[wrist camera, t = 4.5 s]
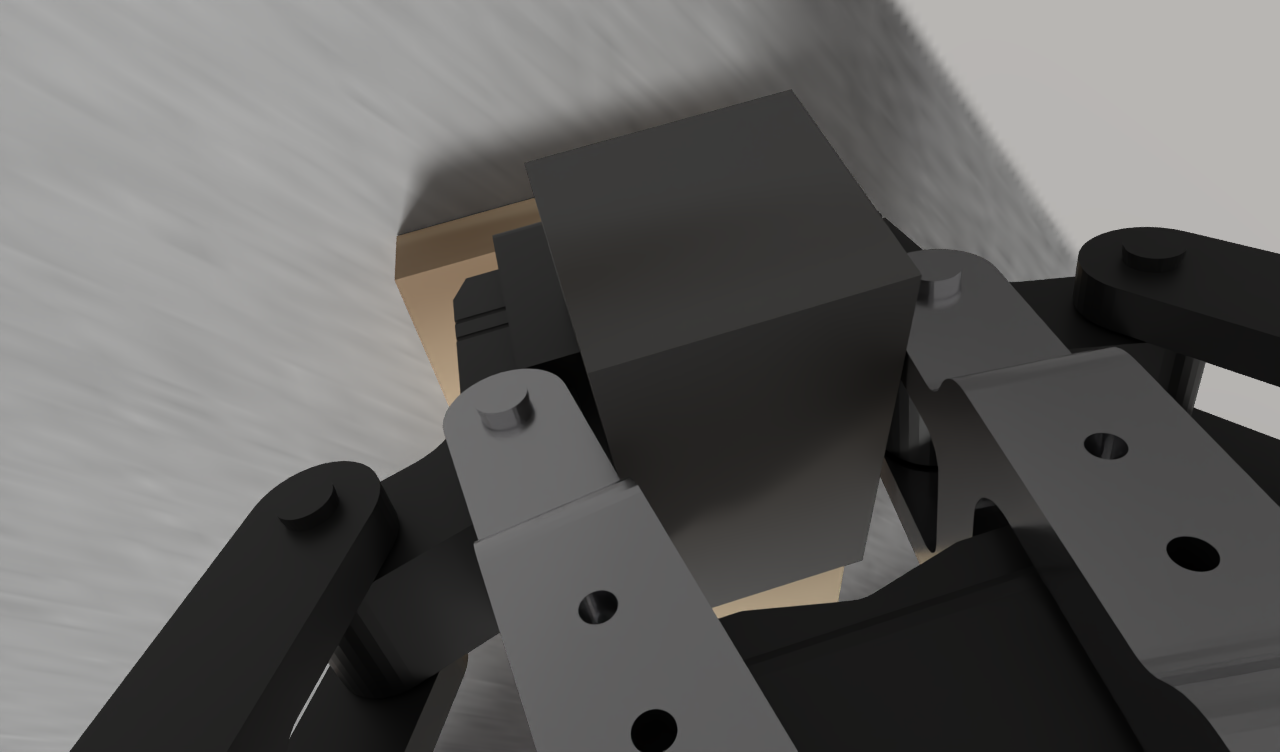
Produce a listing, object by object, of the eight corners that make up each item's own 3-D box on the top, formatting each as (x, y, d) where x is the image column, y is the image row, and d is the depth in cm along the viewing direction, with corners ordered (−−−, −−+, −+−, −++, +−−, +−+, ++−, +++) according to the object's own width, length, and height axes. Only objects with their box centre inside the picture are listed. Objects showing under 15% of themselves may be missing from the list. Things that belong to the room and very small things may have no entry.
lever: (764, 662, 25) (813, 795, 22) (677, 690, 24) (718, 827, 22) (754, 36, 9) (921, 275, 6) (506, 103, 8) (588, 373, 6)
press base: (808, 568, 33) (953, 848, 24) (565, 645, 32) (622, 963, 23) (760, 134, 22) (990, 350, 13) (396, 236, 21) (382, 535, 13)
